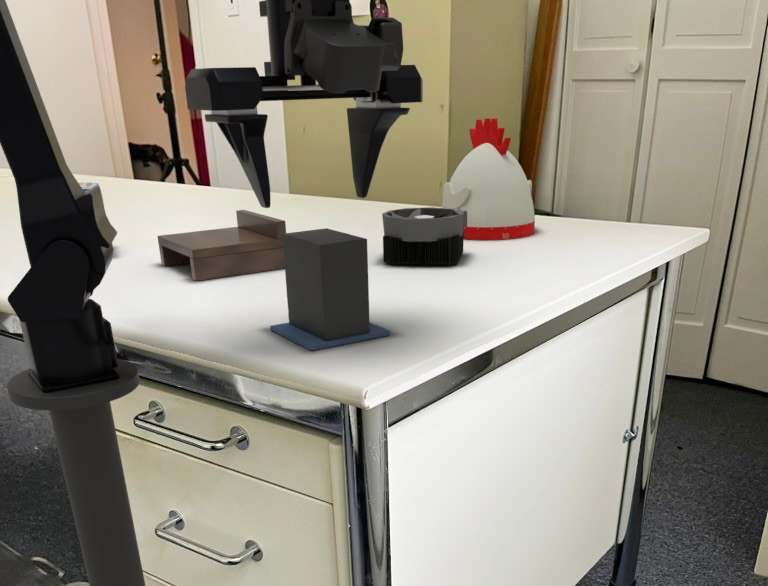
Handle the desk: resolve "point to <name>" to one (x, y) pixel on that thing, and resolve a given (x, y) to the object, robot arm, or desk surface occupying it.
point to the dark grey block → (327, 283)
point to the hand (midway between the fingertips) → (315, 202)
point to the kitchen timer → (491, 188)
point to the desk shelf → (228, 248)
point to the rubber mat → (317, 343)
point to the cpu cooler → (423, 235)
